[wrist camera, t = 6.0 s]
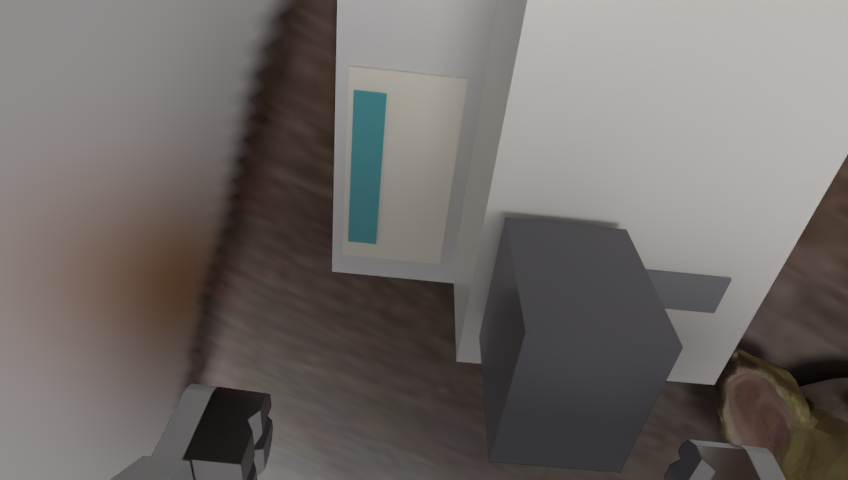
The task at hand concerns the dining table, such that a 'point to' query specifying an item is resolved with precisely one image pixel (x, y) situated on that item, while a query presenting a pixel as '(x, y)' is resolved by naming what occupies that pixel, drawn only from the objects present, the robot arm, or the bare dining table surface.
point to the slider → (571, 346)
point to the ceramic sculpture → (785, 417)
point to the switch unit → (590, 143)
